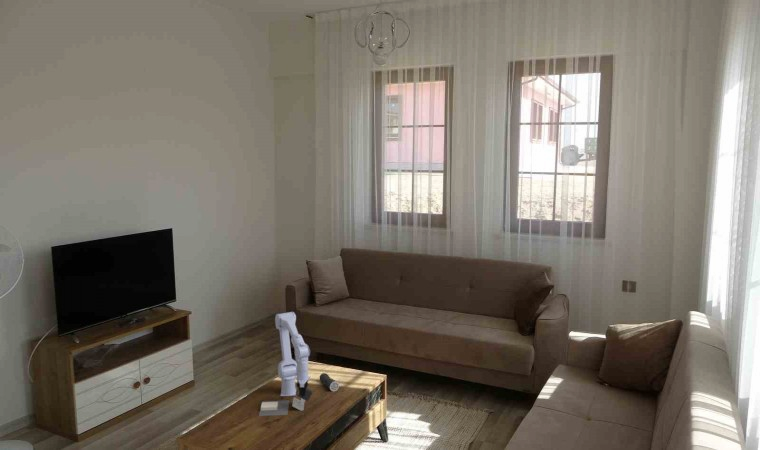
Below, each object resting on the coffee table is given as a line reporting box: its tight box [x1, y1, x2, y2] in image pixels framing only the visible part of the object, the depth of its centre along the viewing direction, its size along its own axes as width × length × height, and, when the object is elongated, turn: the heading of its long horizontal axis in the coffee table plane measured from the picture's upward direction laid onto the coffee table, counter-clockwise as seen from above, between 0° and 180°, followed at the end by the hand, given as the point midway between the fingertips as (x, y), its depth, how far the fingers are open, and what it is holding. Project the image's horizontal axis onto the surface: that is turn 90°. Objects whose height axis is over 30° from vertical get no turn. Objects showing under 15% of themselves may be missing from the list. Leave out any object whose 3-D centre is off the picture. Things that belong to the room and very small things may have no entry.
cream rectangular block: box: [260, 401, 278, 411], centre depth 285 cm, size 6×2×8 cm
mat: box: [258, 400, 290, 417], centre depth 286 cm, size 16×14×1 cm
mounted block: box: [291, 387, 313, 412], centre depth 287 cm, size 8×10×6 cm
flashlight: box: [319, 372, 340, 392], centre depth 314 cm, size 15×5×5 cm, turn 30°
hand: (302, 395), depth 286 cm, fingers closed on mounted block, 2 cm apart
